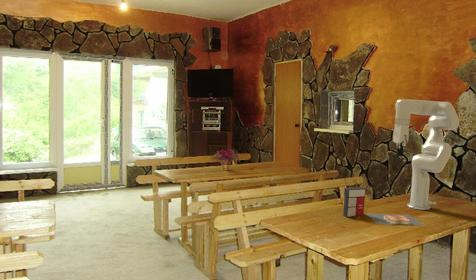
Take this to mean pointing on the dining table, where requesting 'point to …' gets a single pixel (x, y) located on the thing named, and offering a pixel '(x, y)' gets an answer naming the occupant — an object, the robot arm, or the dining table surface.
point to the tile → (397, 219)
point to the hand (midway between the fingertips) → (399, 155)
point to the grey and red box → (354, 201)
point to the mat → (380, 217)
